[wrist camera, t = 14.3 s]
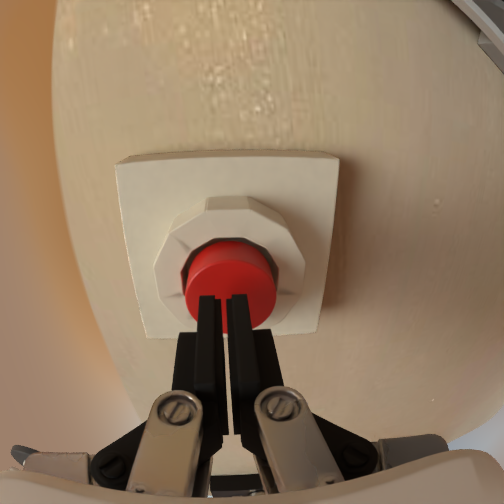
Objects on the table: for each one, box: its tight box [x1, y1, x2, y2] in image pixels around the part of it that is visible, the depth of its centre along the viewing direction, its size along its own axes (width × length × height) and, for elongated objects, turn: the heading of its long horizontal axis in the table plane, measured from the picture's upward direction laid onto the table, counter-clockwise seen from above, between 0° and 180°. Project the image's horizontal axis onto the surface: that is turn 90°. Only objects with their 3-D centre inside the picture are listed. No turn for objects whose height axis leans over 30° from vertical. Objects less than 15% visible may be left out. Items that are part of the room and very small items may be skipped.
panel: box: [210, 474, 264, 498], centre depth 32 cm, size 14×9×3 cm, turn 89°
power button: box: [185, 241, 277, 334], centre depth 12 cm, size 4×4×2 cm
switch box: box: [115, 150, 340, 339], centre depth 15 cm, size 10×10×4 cm
